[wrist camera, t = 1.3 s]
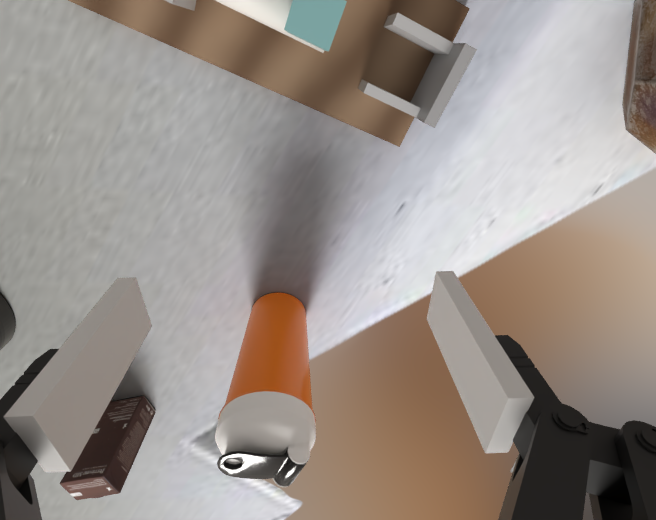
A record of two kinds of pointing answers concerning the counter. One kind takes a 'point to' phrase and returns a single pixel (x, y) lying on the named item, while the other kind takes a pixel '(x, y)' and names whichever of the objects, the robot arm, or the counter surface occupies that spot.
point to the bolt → (296, 18)
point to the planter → (641, 75)
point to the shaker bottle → (269, 396)
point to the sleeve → (184, 3)
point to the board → (306, 52)
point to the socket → (437, 77)
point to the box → (110, 450)
